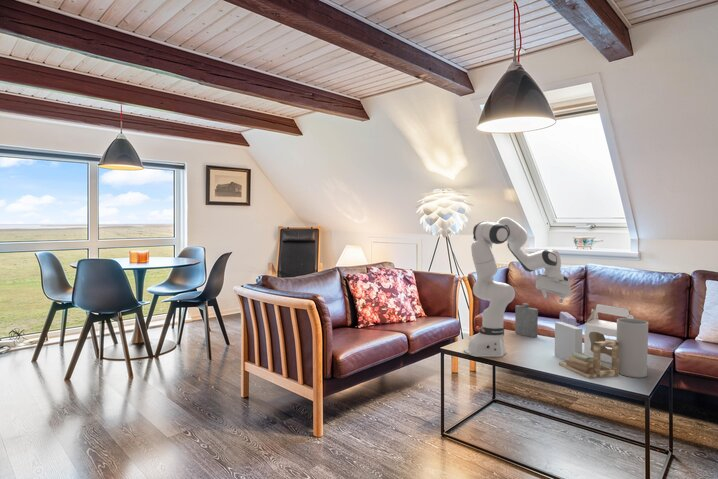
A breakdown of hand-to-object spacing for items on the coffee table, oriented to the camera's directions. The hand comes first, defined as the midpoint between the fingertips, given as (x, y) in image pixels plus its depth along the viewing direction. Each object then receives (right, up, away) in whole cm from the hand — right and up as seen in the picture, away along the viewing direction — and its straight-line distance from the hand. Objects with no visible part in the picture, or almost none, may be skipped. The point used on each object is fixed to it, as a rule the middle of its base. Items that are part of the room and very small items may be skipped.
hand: (553, 300), depth 244 cm
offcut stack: (-2, -28, -34) cm, 44 cm away
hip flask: (-2, -27, +36) cm, 45 cm away
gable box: (+24, -29, -14) cm, 40 cm away
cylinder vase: (+20, -30, -37) cm, 51 cm away
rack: (+3, -29, -31) cm, 43 cm away
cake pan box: (+14, -28, +13) cm, 34 cm away
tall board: (+1, -29, -15) cm, 32 cm away
